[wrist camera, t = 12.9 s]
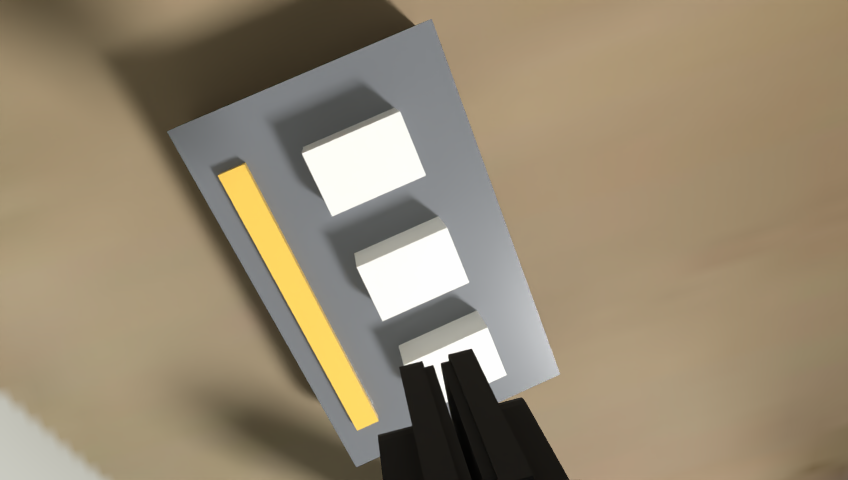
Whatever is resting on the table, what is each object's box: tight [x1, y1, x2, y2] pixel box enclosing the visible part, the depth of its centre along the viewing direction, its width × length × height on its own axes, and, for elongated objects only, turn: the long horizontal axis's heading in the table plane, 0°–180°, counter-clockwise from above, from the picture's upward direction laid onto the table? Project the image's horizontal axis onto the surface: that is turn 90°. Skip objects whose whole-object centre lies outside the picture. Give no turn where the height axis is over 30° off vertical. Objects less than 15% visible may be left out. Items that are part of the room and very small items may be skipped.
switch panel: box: [167, 19, 560, 467], centre depth 23 cm, size 16×10×6 cm, turn 22°
